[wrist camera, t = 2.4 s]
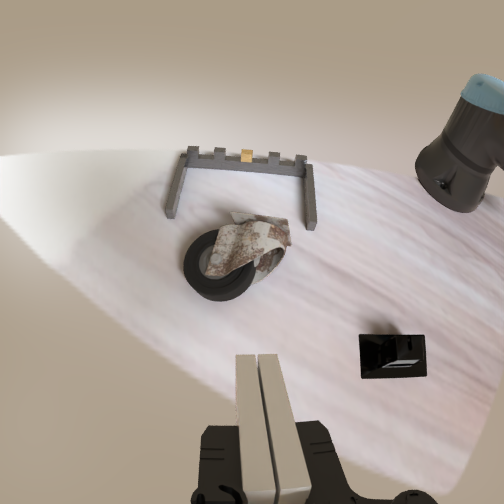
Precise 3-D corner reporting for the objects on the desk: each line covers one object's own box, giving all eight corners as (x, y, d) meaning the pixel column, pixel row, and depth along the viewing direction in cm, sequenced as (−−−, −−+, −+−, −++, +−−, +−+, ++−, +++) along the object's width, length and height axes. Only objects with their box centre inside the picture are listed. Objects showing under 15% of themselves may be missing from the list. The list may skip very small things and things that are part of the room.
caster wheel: (187, 299, 40) (210, 230, 44) (274, 318, 37) (292, 242, 41) (166, 280, 35) (195, 203, 38) (267, 301, 32) (288, 214, 35)
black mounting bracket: (429, 331, 38) (448, 319, 34) (434, 383, 34) (454, 376, 30) (346, 329, 38) (359, 316, 34) (346, 388, 34) (361, 382, 30)
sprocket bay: (309, 173, 50) (314, 156, 47) (313, 230, 44) (320, 214, 41) (182, 162, 49) (180, 145, 46) (167, 218, 43) (163, 201, 40)
